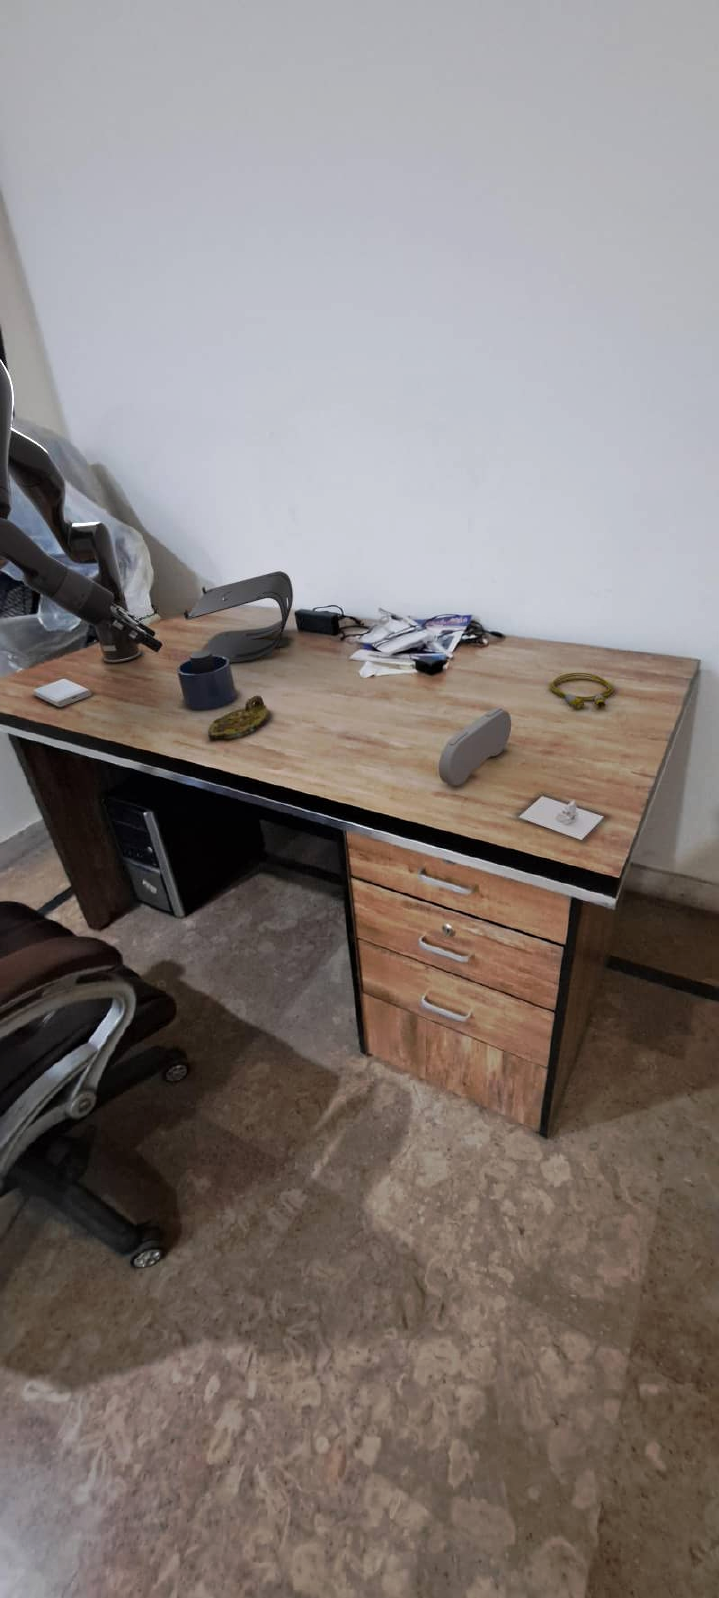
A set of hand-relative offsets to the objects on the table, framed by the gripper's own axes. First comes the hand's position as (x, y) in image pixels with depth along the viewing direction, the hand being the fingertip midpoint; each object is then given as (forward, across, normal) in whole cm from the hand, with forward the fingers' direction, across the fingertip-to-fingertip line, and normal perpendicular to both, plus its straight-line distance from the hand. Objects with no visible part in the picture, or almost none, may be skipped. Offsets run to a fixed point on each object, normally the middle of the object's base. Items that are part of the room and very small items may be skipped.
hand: (156, 642), depth 138 cm
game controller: (+40, -56, -18) cm, 71 cm away
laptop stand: (+28, +29, -7) cm, 41 cm away
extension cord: (+63, -42, -42) cm, 87 cm away
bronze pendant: (+18, -17, +3) cm, 25 cm away
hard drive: (-5, +23, +26) cm, 35 cm away
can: (+16, 0, +5) cm, 17 cm away
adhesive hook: (+41, -75, -20) cm, 88 cm away
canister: (+16, 0, +4) cm, 16 cm away
